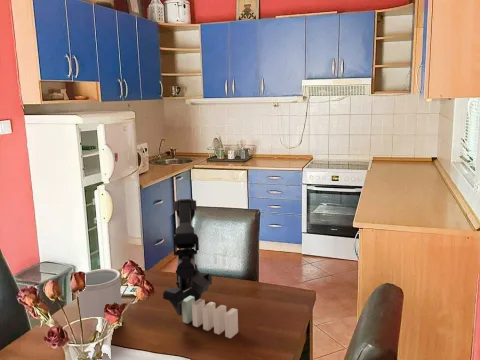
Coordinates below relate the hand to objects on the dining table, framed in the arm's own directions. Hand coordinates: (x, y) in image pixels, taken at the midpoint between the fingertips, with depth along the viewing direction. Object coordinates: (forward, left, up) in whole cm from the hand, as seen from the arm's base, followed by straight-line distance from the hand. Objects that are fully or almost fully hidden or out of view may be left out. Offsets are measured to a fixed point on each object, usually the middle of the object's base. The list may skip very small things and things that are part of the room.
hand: (188, 309), depth 150 cm
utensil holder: (-24, -18, -4) cm, 30 cm away
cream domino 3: (+14, 0, -4) cm, 14 cm away
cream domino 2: (+9, 0, -4) cm, 10 cm away
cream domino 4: (+18, 0, -4) cm, 18 cm away
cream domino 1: (+5, 0, -4) cm, 6 cm away
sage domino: (0, 0, -4) cm, 4 cm away
